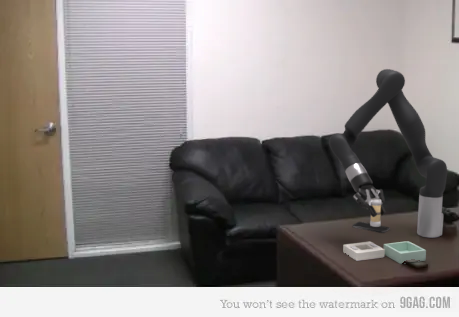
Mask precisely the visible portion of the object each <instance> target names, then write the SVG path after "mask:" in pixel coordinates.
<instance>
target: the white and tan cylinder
mask: <svg viewBox="0 0 459 317" xmlns="http://www.w3.org/2000/svg"><path fill="white" fill-rule="evenodd" d="M371 204H372V206H373V207H374V209H375V211H376V213H377V215H376V216H375V217H372V216H371V215H370V220H369V223H370V226H374V227H379V226H382V225H381V223H382V221H381V216H382V215H381V199H378V198H373V199H371Z"/></svg>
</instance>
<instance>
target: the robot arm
mask: <svg viewBox="0 0 459 317" xmlns="http://www.w3.org/2000/svg"><path fill="white" fill-rule="evenodd" d="M375 81H376V82H375V83H376V86H377V88H378V89H377V90H376V92H375V93H374V94H373V95H372V96H371V98H370V99H368V100H367V101H365V102H364V103H363V104H362V105H361V106H360V107H358V109H356V110H355V112H353V114H352V115H351V116H350V117H349V118H348V120H347V121H346V123H344V131H343V132H342V134H341V133H334V134H332V135H331V136H330V137H329V140H328V143H329V144H328V145H329V148H330V149H331V151H332V152H333V154H334V156H336V158H337V159H338V161H339V162H340V164H341V166H342V169H343V170H344V173H345V175H346V177H347V179H348V181H349V183H350V184H351V187H352V188H353V190H354V192H356V193H355V194H354V195H353V196H352V199H353V200H354V201H355V202H356V204H358V205H359V207H361V208H362V209H366V210H368V212H369V214H370V217H371V216H372V217H375V216H376V215H377V213H376V211H375V209H374V207H373V206H372V204H371V199H373V198H378V199H381V215H380V216H384V215H385V214H386V213H387V212H386V209H385V207H384V205H383V204H384V203H385V202H386V198H385V195H384V190H383V189H382V188H380V189H376V188H375V187H374V184H373V180H372V179H371V177H370V175H369V173H368V171H367V170H366V168H365V166H363V164H362V162H361V161H360V159H359V157H358V156H357V154H356V153H355V152H354V151H353V150H352V148H353V147H354V145H355V143H356V142H357V140H358V138H359V136H360V134H362V131H364V130H365V128H366V127H367V126H368V125H369V123H370V122H371V121H372V119H374V117H375V116H376V115H377V114H378V113H379V112H380V111H381V109H383V108H384V107H385V106H386V104H388V106H389V110H390V111H391V114H392V116H393V118H394V121H395V122H396V125H397V127H398V129H399V131H400V134H401V135H402V137H403V139H404V140H405V143H406V145H407V147H408V149H409V151H410V154H411V155H412V158H413V162H414V164H415V168H416V170H417V172H418V173H419V175H420V176H421V177H422V178H425V185H424V186H421V187H420V189H419V195H418V196H419V197H418V211H417V212H418V213H417V215H418V216H417V229H416V230H417V231H416V234H417V235H418V236H420V237H423V238H433V239H434V238H440V236H443V229H444V228H443V227H444V226H443V225H444V213H443V197H444V196H443V195H444V192H445V190H446V186H447V175H448V166H447V164H446V162H445V161H444V160H442V159H440V158H438V157H434V156H433V155H432V153H431V152H430V150H429V148H428V146H427V143H426V129H425V125H424V124H423V121H422V119H421V117H420V115H419V112H417V110H416V109H415V108H414V106H413V105H412V104H411V102H410V101H409V100H408V99H407V98H406V95H405V94H404V92H403V88H404V87H405V85H406V79H405V76H404V75H403V73H401V72H400V71H397V70H395V69H390V68H389V69H388V68H385V69H384V68H383V69H381V71H379V72H378V74H377V75H376V79H375Z"/></svg>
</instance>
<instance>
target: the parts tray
mask: <svg viewBox="0 0 459 317" xmlns="http://www.w3.org/2000/svg"><path fill="white" fill-rule="evenodd" d="M383 249H385V254H384V256H386V257H388V258H389V259H391V260H392V261H394V262H397V263H398V264H400V265H403V264H402V263H403V262H404V261H406V260H411V259H415V260H420V261H419V262H424V261H426V260H427V259H426V256H427V250H426V249H424V248H423V247H421V246H419V245H417V244H415V243H412V242H411V241H409V240H407V241H400V242H399V241H398V242H391V243H383Z"/></svg>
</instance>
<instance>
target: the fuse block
mask: <svg viewBox="0 0 459 317" xmlns="http://www.w3.org/2000/svg"><path fill="white" fill-rule="evenodd" d="M342 248H343V250H342V253H344V254H345V253H346V254H345V255H347V256H348V255H349V256H348V257H349V258H351V259H353V260H354V261H356V262H358V261H365V260H373V259H380V258H381V259H382V258H385V255H384V254H385V249H384V247H381V246H379V245H377V244H375V243H374V242H372V241H362V242H354V243H346V244H343V247H342Z"/></svg>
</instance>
